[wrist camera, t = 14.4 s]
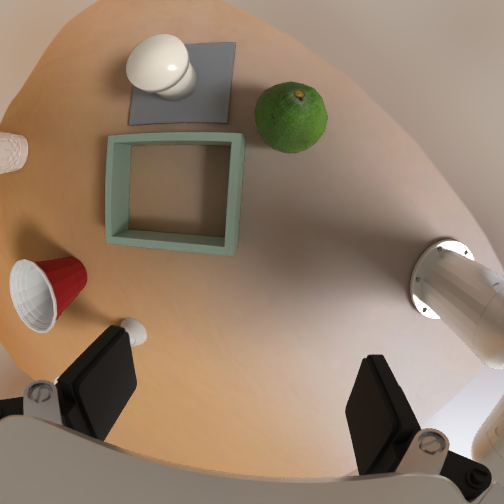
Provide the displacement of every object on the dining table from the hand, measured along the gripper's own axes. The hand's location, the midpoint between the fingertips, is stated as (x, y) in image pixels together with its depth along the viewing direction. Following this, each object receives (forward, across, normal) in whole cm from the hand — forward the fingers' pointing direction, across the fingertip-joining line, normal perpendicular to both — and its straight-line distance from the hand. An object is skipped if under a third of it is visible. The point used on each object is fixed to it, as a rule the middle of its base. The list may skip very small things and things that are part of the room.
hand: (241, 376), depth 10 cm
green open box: (+28, +12, -5) cm, 31 cm away
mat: (+28, +13, -20) cm, 37 cm away
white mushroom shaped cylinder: (+28, +13, -20) cm, 37 cm away
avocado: (+28, -2, -14) cm, 32 cm away
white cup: (+28, +46, -12) cm, 55 cm away
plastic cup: (+28, +31, +9) cm, 43 cm away
